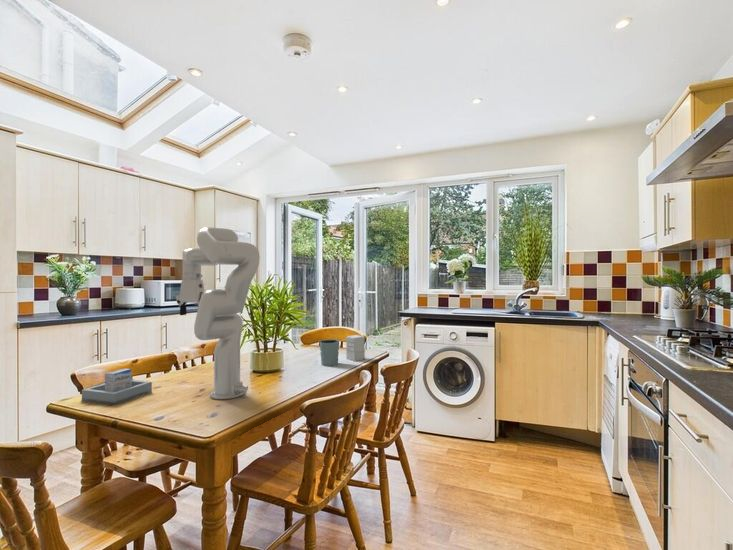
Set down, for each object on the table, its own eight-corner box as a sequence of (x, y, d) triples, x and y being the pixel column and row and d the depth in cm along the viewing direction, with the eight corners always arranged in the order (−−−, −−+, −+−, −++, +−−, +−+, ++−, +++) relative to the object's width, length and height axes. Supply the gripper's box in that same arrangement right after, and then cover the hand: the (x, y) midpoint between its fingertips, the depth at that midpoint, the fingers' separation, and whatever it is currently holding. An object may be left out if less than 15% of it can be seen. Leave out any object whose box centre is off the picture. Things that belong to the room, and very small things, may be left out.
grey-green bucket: (343, 363, 201) (343, 340, 201) (331, 367, 192) (331, 343, 192) (327, 361, 206) (327, 338, 206) (315, 365, 198) (315, 341, 198)
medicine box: (113, 397, 144) (113, 373, 144) (104, 396, 145) (104, 373, 145) (132, 391, 151) (131, 368, 151) (123, 390, 152) (122, 368, 152)
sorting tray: (151, 391, 153) (151, 381, 153) (114, 405, 138) (114, 393, 138) (121, 388, 158) (121, 378, 158) (81, 400, 143) (81, 389, 143)
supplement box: (356, 357, 216) (356, 334, 216) (364, 359, 210) (364, 336, 210) (345, 359, 211) (345, 336, 211) (354, 361, 206) (354, 337, 206)
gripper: (213, 277, 174) (213, 315, 174) (182, 277, 179) (182, 313, 179) (201, 277, 166) (202, 316, 166) (169, 277, 172) (170, 315, 172)
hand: (192, 315), depth 173 cm, fingers open, 9 cm apart
